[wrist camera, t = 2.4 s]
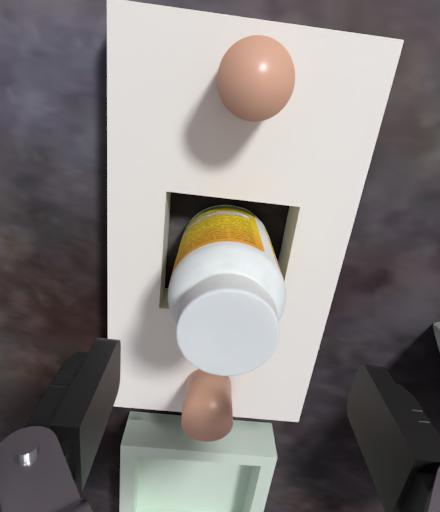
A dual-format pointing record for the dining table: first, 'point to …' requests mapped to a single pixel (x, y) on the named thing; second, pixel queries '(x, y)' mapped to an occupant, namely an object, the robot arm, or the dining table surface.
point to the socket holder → (232, 184)
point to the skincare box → (437, 333)
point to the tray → (194, 467)
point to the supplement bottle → (226, 292)
